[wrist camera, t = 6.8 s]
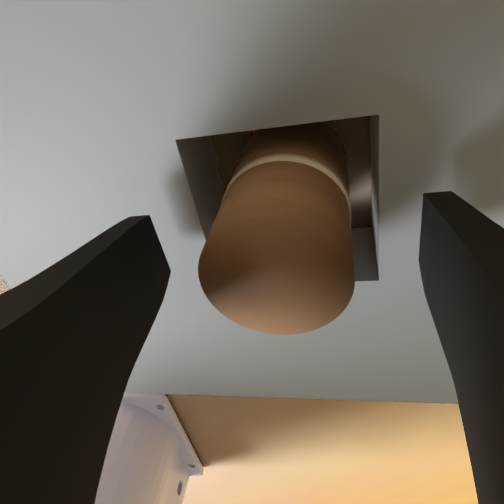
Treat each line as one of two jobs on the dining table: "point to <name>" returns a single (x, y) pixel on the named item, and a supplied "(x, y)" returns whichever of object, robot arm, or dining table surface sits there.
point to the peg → (283, 234)
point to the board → (208, 174)
